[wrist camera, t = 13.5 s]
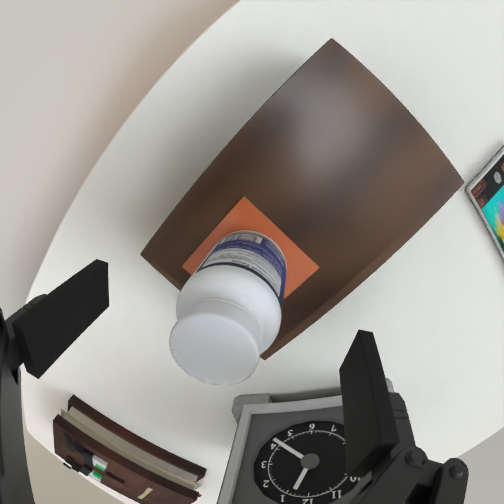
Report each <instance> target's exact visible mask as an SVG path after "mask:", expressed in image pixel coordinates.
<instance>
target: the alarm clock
mask: <svg viewBox="0 0 504 504" xmlns="http://www.w3.org/2000/svg"><path fill="white" fill-rule="evenodd" d="M385 379H386V383H387V387H388V391H389V392H394V389H393V386H392V382H391V381H390V380H389V379H388V378H385ZM232 413H233V415H234V417H235V419H236V421H237V424H238V425H237V429H236V433H235V437H234V441H233V445H232V449H231V452H230V456H229V460H228V464H227V467H226V471H225V475H224V479H223V482H222V486H221V490H220V493H219V497H218V500H217V504H348V503H349V502H350V501H351V500H352V499H353V498H354V497H355V496H356V495H357V494H358V493H359V492H360V488H362V487H363V486H364V485H365V484H366V483H367V482H369V481H370V480H371V479H372V475H371V471H370V472H369V473H368V474H367V475H366V476H365V477H347V474H346V450H345V433H344V418H343V405H342V395H339V396H332V397H325V398H317V399H309V400H300V401H290V402H279V403H272V400H271V397H270V394H256V395H240V396H238V397H236V399H235V401H234V405H233V408H232ZM403 504H405V502H404V503H403Z"/></svg>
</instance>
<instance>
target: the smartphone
mask: <svg viewBox="0 0 504 504" xmlns="http://www.w3.org/2000/svg"><path fill="white" fill-rule="evenodd" d="M466 192H467V193H468V195H469V197H470V198H471V200H472V201H473V203H474V205H475V207H476V208H477V210H478V212H479V213H480V215H481V217H482V219H483V221H484V222H485V224H486V226H487V228H488V230H489V232H490V234H491V236H492V237H493V239H494V241H495V243H496V245H497V247H498V250H499V252H500V254H501V256H502V258H503V260H504V147H503V148H502V149H501V150H500V151H499V153H498V154H497V155H496V156H495V157H494V158H493V159H492V160H491V162H490V163H489V164H488V165H487V166H486V167H485V168H484V169H483V170H482V171H481V173H480V174H479V175H478V176H477V177H476V178H475V179H474V180H473V181H472V182H471V183H470V184H469V185H468V186H467V188H466Z"/></svg>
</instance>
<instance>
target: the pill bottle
mask: <svg viewBox="0 0 504 504" xmlns="http://www.w3.org/2000/svg"><path fill="white" fill-rule="evenodd" d="M286 273H287V269H286V261H285V257H284V255H283V253H282V251H281V249H280V248H279V246H278V245H277V244H276V243H275V242H274V241H273V240H272V239H271V238H269V237H268V236H266V235H264V234H262V233H259V232H256V231H250V230H241V231H236V232H233V233H230V234H228V235H226V236H225V237H223V238H222V239H221V240H220V241H219V242H218V243H217V244H216V245H215V246H214V248H213V249H212V250H211V251H210V253H209V254H208V255H207V257H206V258H205V259H204V260H203V262H202V263H201V264H200V266H199V267H198V268H197V270H196V271H195V272H194V273H193V275H192V276H191V277H190V278H189V280H188V281H187V282H186V284H185V285H184V286H183V288H182V290H181V292H180V294H179V297H178V300H177V305H176V315H177V322H176V323H175V325H174V327H173V329H172V331H171V334H170V339H169V344H170V350H171V353H172V355H173V358H174V359H175V361H176V362H177V364H178V365H179V366H180V367H181V368H182V369H183V370H184V371H185V372H186V373H188V374H189V375H191V376H192V377H194V378H196V379H198V380H200V381H202V382H205V383H208V384H213V385H233V384H236V383H240V382H242V381H244V380H245V379H247V378H248V377H250V376H251V375H252V373H253V372H254V371H255V369H256V367H257V365H258V362H259V358H260V354H262V353H263V352H264V351H266V350H267V349H268V348H269V347H270V346H271V344H272V343H273V342H274V340H275V338H276V336H277V334H278V332H279V328H280V323H281V317H282V308H283V300H284V292H285V283H286Z"/></svg>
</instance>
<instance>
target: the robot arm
mask: <svg viewBox="0 0 504 504" xmlns="http://www.w3.org/2000/svg"><path fill="white" fill-rule="evenodd" d="M108 307H109V290H108V263H107V262H104V261H101V260H98V259H96V260H95V261H93V262H92V263H90V264H89V265H88V266H86V267H85V268H83V269H82V270H81V271H79V272H78V273H76V274H75V275H74V276H72V277H71V278H69V279H68V280H67V281H65V282H64V283H63V284H61V285H60V286H58V287H57V288H56V289H54V290H53V291H52V292H50V293H49V294H48V295H46V294H42V295H40V296H37V297H35V298H34V299H32V300H31V301H30V302H28V304H26V305H24V306H23V308H21V309H19V310H18V311H17V312H15V313H14V314H13V315H11V316H10V317H9V318H8V319H6V320H4V317H3V313H2V309H1V308H0V504H35V502H34V498H33V493H32V488H31V484H30V478H29V473H28V467H27V460H26V453H25V445H24V435H23V424H22V408H21V370H20V367H19V366H20V365H21V364H22V363H23V362H24V365H25V368H26V371H27V372H28V373H30V374H31V375H33V376H34V377H36V378H37V379H39V378H40V377H41V376H42V375H43V374H44V373H45V372H46V371H47V369H48V368H49V367H50V366H51V365H52V364H53V363H54V362H55V361H56V360H57V359H58V358H59V357H60V356H61V354H62V353H63V352H64V351H65V350H66V349H67V348H68V347H69V346H70V345H71V344H72V343H73V342H74V341H75V340H76V339H77V338H78V337H79V336H80V335H81V334H82V333H83V332H84V331H85V330H86V329H87V328H88V327H89V326H90V325H91V324H92V323H93V322H94V321H95V320H96V319H97V318H98V317H99V316H100V315H101V314H102V313H103V312H104V311H105V310H106V309H107V308H108ZM339 372H340V383H341V393H342V405H343V418H344V433H345V450H346V474H347V477H365V476H366V475H367V474H368V473H369V472H370V471H371V475H372V479H371V480H370V481H369V482H367V483H366V484H365V485H364V486H363V487H362V488H360V492H359V493H358V494H357V495H356V496H355V497H354V498H353V499H352V500H351V501H350V502H349V503H348V504H403V503H404V502H405V504H463V503H464V498H465V493H466V487H467V481H468V475H469V474H468V468H467V465H466V464H465V463H464V462H463V461H462V460H460V459H458V458H451V459H449V460H447V461H446V462H445V463H444V464H442V463H438V462H434V461H431V460H428V457H427V456H426V454H425V452H424V451H423V450H422V449H421V448H418V447H416V445H415V441H414V436H413V432H412V428H411V424H410V420H409V416H408V413H407V409H406V405H405V402H404V400H403V399H402V397H401V396H400V395H399V393H395V392H389V391H388V387H387V383H386V379H385V375H384V371H383V367H382V364H381V360H380V356H379V353H378V349H377V346H376V342H375V339H374V335H373V332H368V331H363V330H358V332H357V335H356V337H355V339H354V341H353V343H352V345H351V347H350V349H349V351H348V353H347V355H346V357H345V359H344V361H343V363H342V365H341V367H340V369H339Z"/></svg>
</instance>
